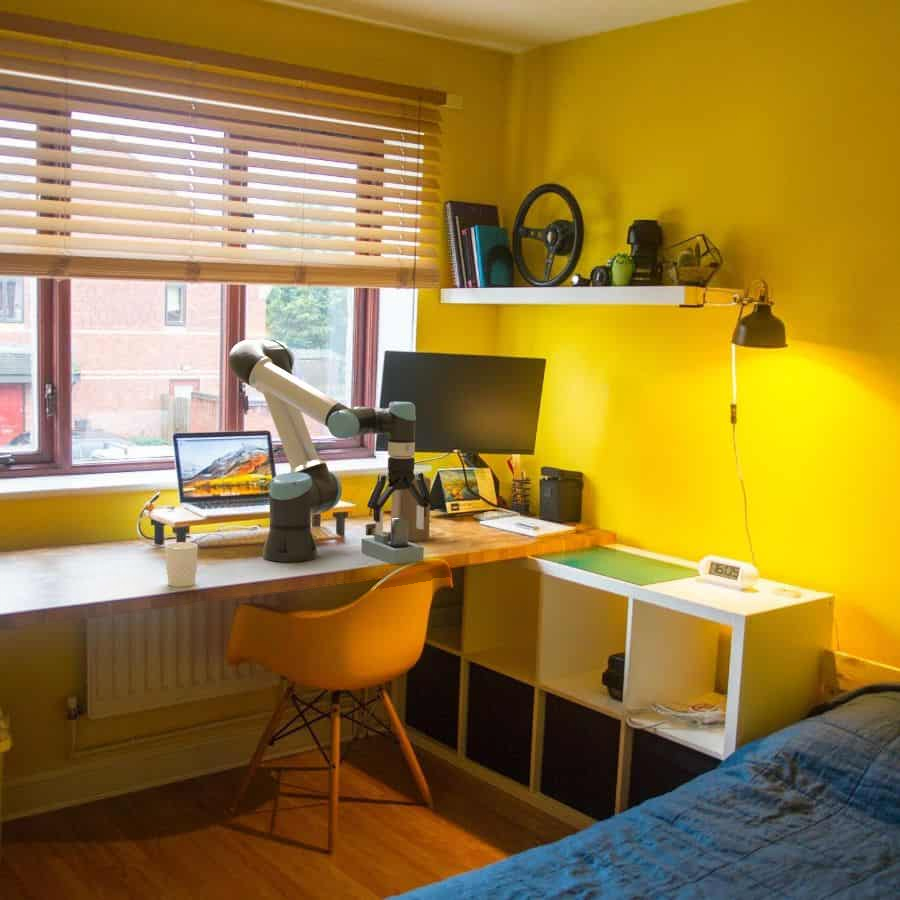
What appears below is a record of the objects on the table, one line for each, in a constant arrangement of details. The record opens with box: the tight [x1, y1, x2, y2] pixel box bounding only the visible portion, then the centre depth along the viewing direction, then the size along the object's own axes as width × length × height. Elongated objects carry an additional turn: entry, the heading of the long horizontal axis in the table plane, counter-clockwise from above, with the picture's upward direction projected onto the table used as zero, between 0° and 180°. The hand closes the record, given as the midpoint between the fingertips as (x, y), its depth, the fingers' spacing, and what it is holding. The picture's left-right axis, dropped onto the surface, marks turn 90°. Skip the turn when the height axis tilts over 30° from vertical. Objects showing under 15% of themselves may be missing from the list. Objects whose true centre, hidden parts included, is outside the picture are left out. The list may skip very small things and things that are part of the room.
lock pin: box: [365, 522, 390, 540], centre depth 322 cm, size 4×9×3 cm, turn 34°
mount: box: [360, 531, 425, 565], centre depth 316 cm, size 10×18×6 cm, turn 34°
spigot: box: [390, 516, 409, 549], centre depth 312 cm, size 5×5×12 cm
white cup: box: [165, 541, 198, 588], centre depth 277 cm, size 8×8×10 cm
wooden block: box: [390, 475, 431, 543], centre depth 340 cm, size 10×10×20 cm
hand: (399, 530), depth 312 cm, fingers open, 13 cm apart
